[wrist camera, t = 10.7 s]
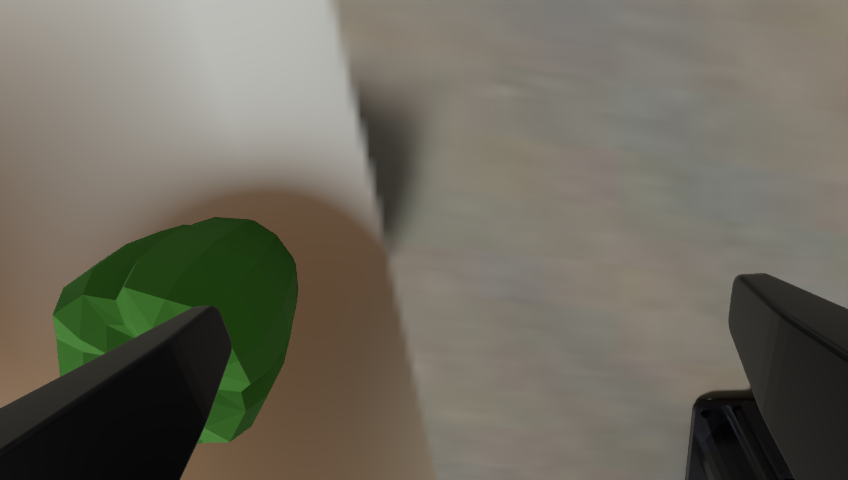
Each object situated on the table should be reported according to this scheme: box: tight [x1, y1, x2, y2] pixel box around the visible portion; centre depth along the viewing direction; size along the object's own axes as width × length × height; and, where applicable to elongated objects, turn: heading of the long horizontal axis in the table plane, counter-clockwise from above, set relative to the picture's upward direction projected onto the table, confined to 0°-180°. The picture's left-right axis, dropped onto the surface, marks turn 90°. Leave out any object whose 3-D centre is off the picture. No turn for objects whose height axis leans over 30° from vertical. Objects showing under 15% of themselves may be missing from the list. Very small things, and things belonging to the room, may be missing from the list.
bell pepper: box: [53, 217, 298, 444], centre depth 21 cm, size 8×8×10 cm
